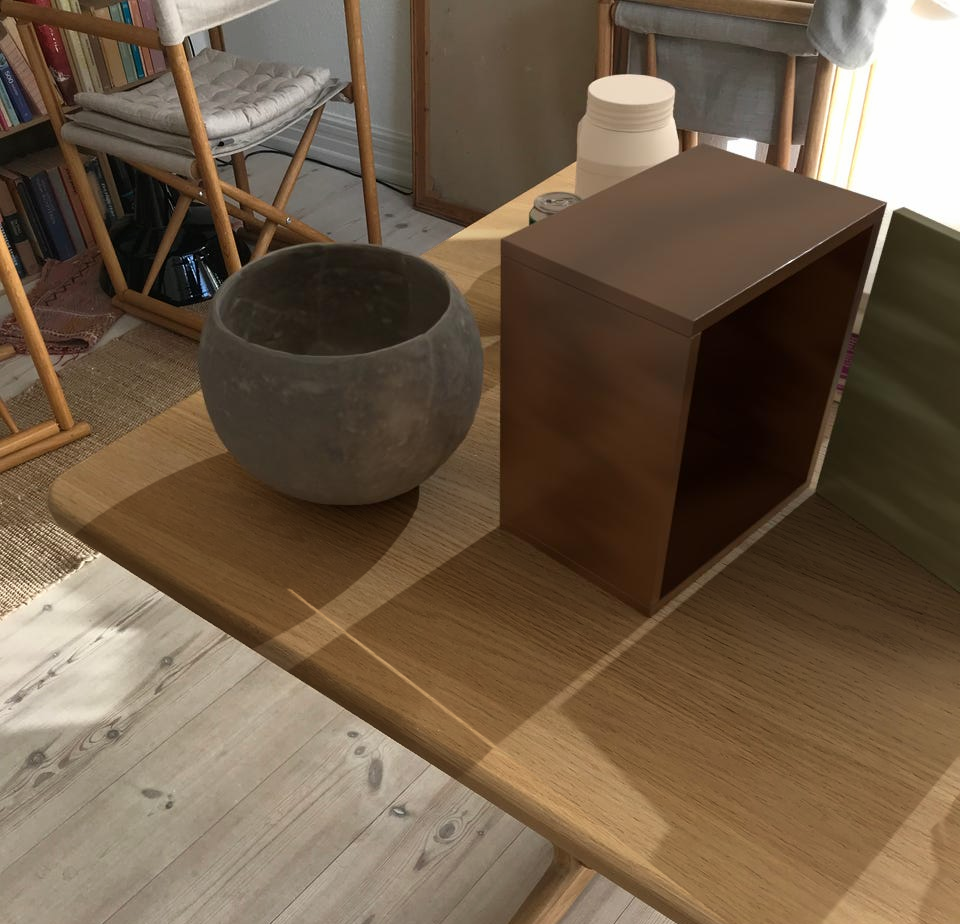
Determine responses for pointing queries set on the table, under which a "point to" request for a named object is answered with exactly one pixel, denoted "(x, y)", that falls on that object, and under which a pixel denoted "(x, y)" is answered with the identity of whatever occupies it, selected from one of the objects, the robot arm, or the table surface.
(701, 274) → the cupboard
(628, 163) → the jar
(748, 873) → the table surface
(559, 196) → the soda can
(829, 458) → the door
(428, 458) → the bowl
